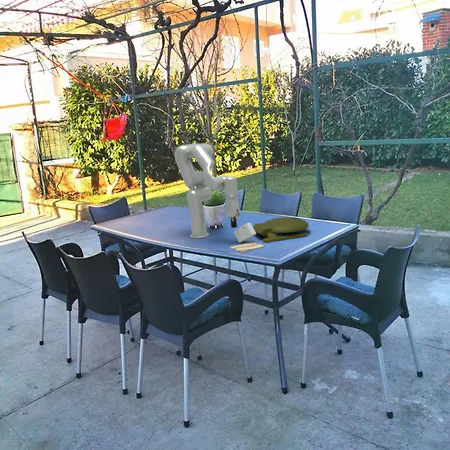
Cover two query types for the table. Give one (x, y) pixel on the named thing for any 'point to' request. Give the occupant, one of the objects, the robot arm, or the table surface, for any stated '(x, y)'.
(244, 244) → the board
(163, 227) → the table surface
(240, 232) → the small box
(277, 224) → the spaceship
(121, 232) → the table surface
